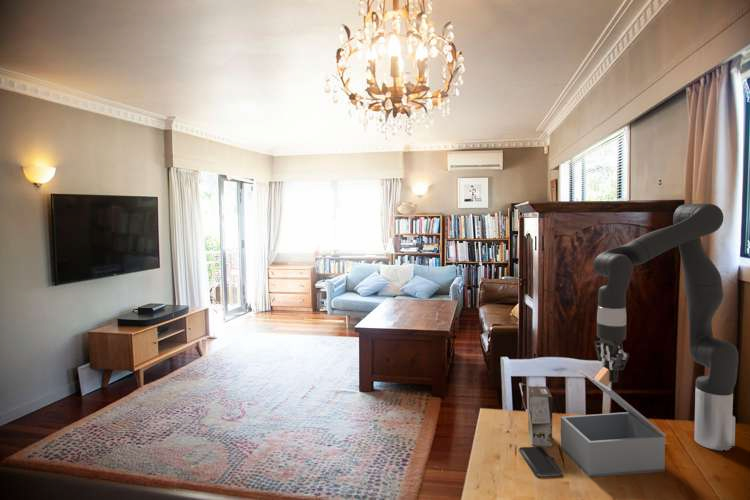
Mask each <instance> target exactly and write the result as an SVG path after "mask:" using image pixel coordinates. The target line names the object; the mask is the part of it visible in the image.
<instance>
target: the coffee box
mask: <svg viewBox="0 0 750 500" xmlns="http://www.w3.org/2000/svg"><path fill="white" fill-rule="evenodd" d="M527 419H528V421H527V424H528V427H527V430H528V432H527V433H528V436H529V439H530V442H531V445H532V446H538V447H553V396H552V394H551V392H550V389H549V388H548V386H543V385H539V386H537V385H536V386H530V385H529V386H527Z"/></svg>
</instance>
